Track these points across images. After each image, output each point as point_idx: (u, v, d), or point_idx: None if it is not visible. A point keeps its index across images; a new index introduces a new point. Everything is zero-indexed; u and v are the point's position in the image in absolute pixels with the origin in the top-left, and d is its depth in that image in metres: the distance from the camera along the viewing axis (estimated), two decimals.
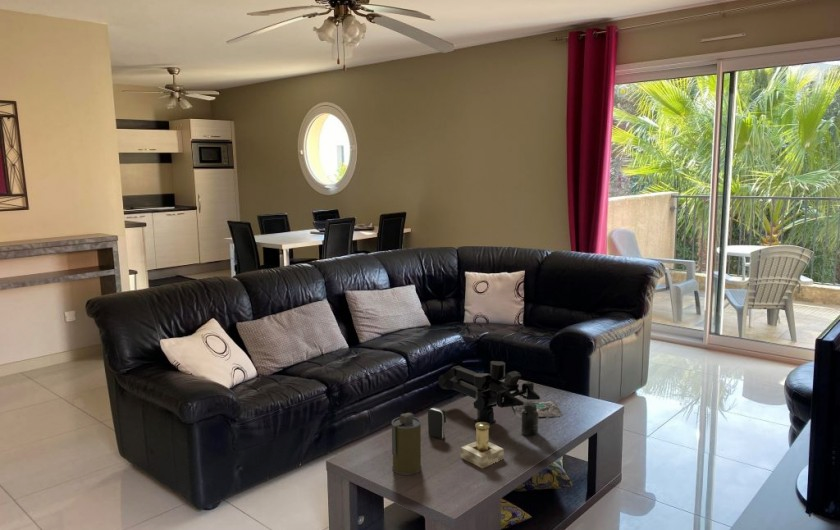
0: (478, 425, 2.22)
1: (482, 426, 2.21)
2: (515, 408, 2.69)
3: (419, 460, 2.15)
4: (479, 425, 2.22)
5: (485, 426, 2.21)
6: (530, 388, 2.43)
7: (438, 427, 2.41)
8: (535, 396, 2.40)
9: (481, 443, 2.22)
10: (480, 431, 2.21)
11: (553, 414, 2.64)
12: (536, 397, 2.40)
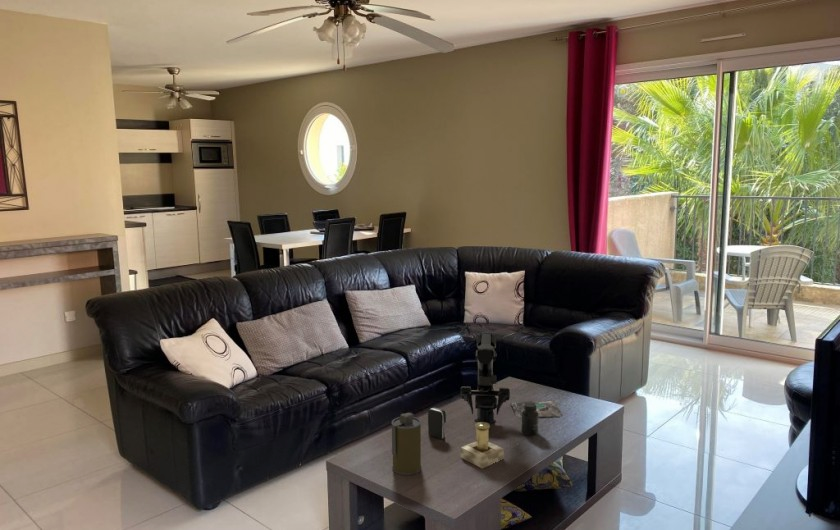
0: (478, 425, 2.22)
1: (482, 426, 2.21)
2: (515, 408, 2.69)
3: (419, 460, 2.15)
4: (479, 425, 2.22)
5: (485, 426, 2.21)
6: (500, 398, 2.31)
7: (438, 427, 2.41)
8: None
9: (481, 443, 2.22)
10: (480, 431, 2.21)
11: (552, 413, 2.64)
12: None
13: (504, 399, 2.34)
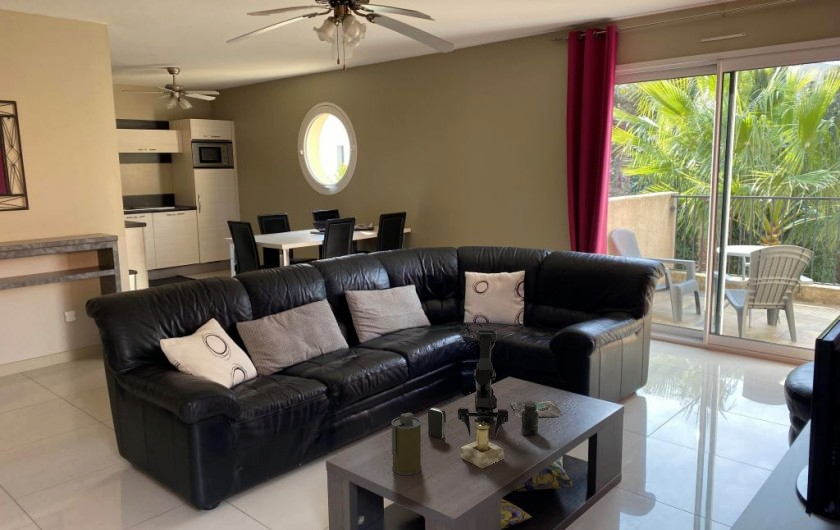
0: (478, 425, 2.22)
1: (482, 426, 2.21)
2: (514, 408, 2.69)
3: (419, 460, 2.15)
4: (479, 425, 2.22)
5: (485, 426, 2.21)
6: (498, 420, 2.25)
7: (438, 427, 2.41)
8: None
9: (481, 443, 2.22)
10: (480, 431, 2.21)
11: (552, 413, 2.64)
12: None
13: (503, 421, 2.27)
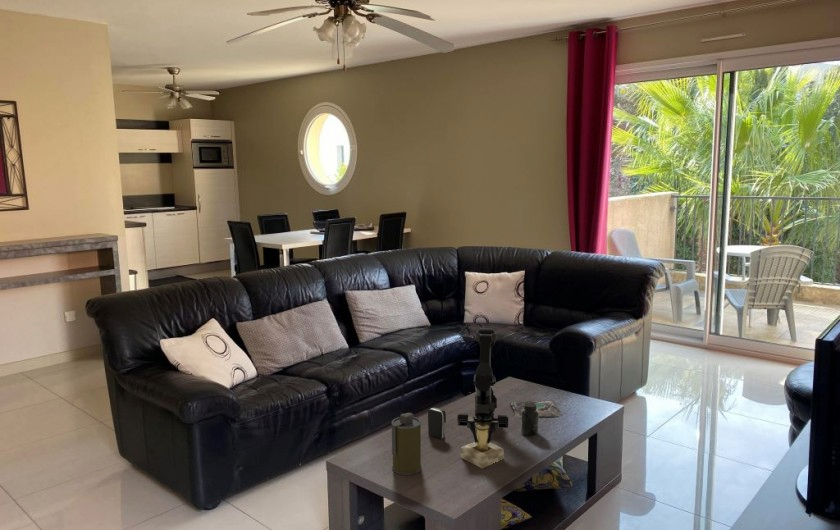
0: (478, 425, 2.22)
1: (482, 426, 2.21)
2: (514, 408, 2.69)
3: (419, 460, 2.15)
4: (479, 425, 2.22)
5: (485, 426, 2.21)
6: (492, 426, 2.24)
7: (438, 427, 2.41)
8: None
9: (481, 443, 2.22)
10: (480, 431, 2.21)
11: (552, 413, 2.64)
12: (488, 439, 2.23)
13: (497, 427, 2.26)
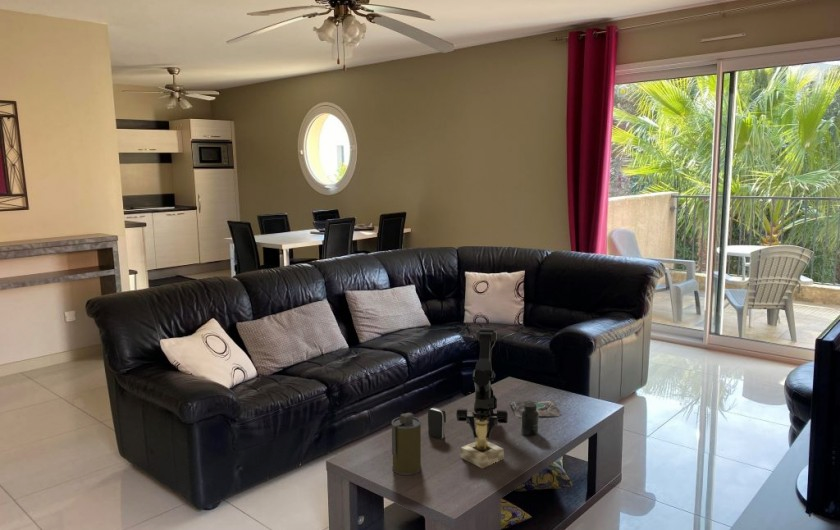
0: (477, 420, 2.22)
1: (481, 421, 2.21)
2: (514, 407, 2.69)
3: (419, 460, 2.15)
4: (478, 420, 2.22)
5: (484, 421, 2.21)
6: (491, 421, 2.24)
7: (438, 427, 2.41)
8: None
9: (480, 438, 2.21)
10: (479, 426, 2.21)
11: (552, 413, 2.64)
12: None
13: (496, 422, 2.26)
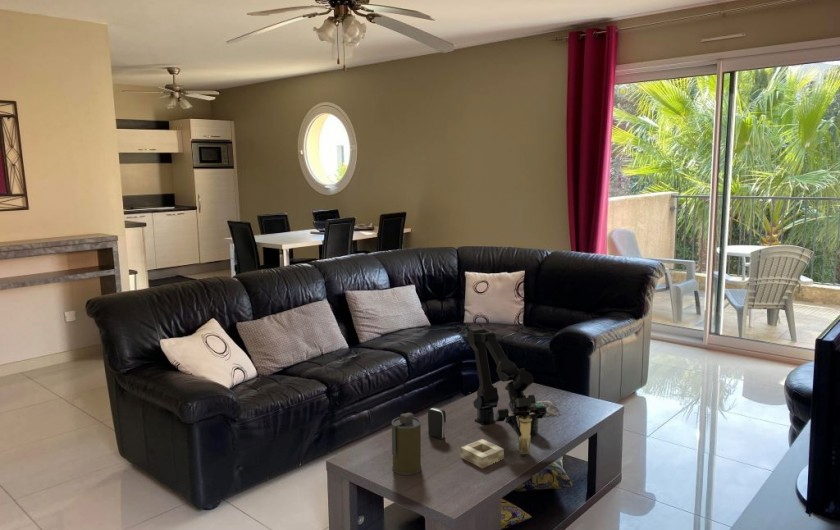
0: (521, 418, 2.24)
1: (526, 419, 2.24)
2: None
3: (419, 460, 2.15)
4: (522, 418, 2.24)
5: (529, 419, 2.24)
6: (532, 418, 2.27)
7: (438, 427, 2.41)
8: None
9: (526, 435, 2.24)
10: (525, 424, 2.23)
11: (550, 413, 2.65)
12: None
13: (535, 418, 2.30)
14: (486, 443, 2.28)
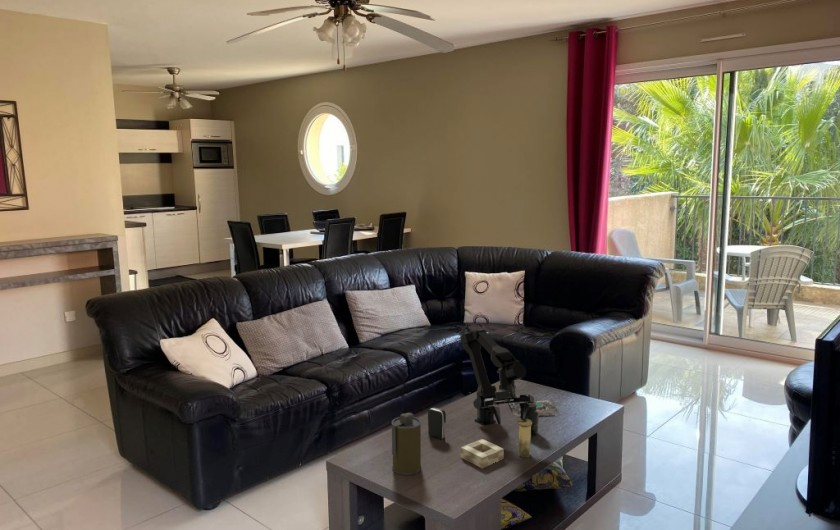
0: (521, 422, 2.25)
1: (526, 423, 2.24)
2: (512, 407, 2.70)
3: (419, 460, 2.15)
4: (522, 422, 2.25)
5: (529, 422, 2.24)
6: (521, 406, 2.32)
7: (438, 427, 2.41)
8: None
9: (526, 439, 2.24)
10: (525, 428, 2.24)
11: (550, 412, 2.65)
12: None
13: (528, 404, 2.33)
14: (486, 443, 2.28)
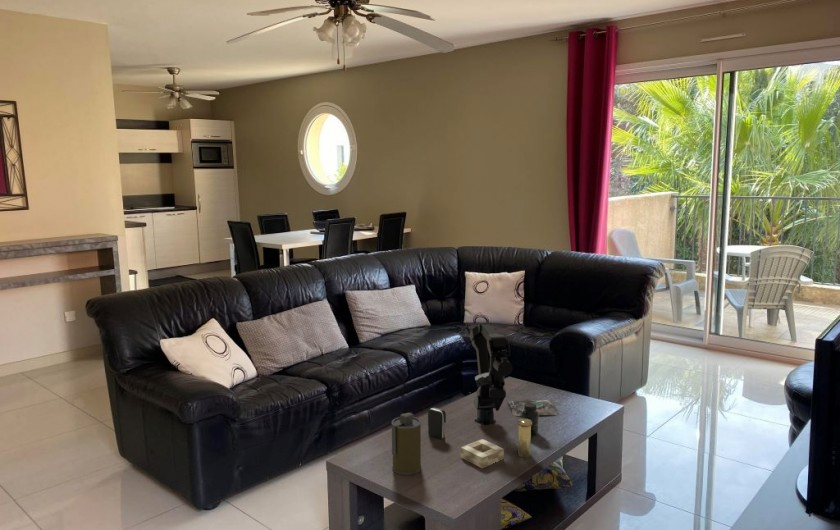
0: (521, 422, 2.25)
1: (526, 423, 2.24)
2: (512, 406, 2.70)
3: (419, 460, 2.15)
4: (522, 422, 2.25)
5: (529, 422, 2.25)
6: None
7: (438, 427, 2.41)
8: None
9: (526, 439, 2.24)
10: (525, 428, 2.24)
11: (549, 412, 2.66)
12: None
13: None
14: (486, 443, 2.28)
